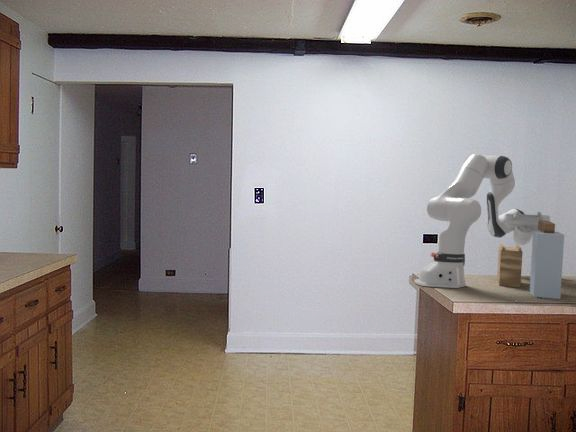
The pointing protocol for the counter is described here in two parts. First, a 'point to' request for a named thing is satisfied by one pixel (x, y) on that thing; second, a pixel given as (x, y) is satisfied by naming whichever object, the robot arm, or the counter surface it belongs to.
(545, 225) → the walnut bar
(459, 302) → the counter surface
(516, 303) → the counter surface
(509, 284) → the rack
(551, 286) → the stand
